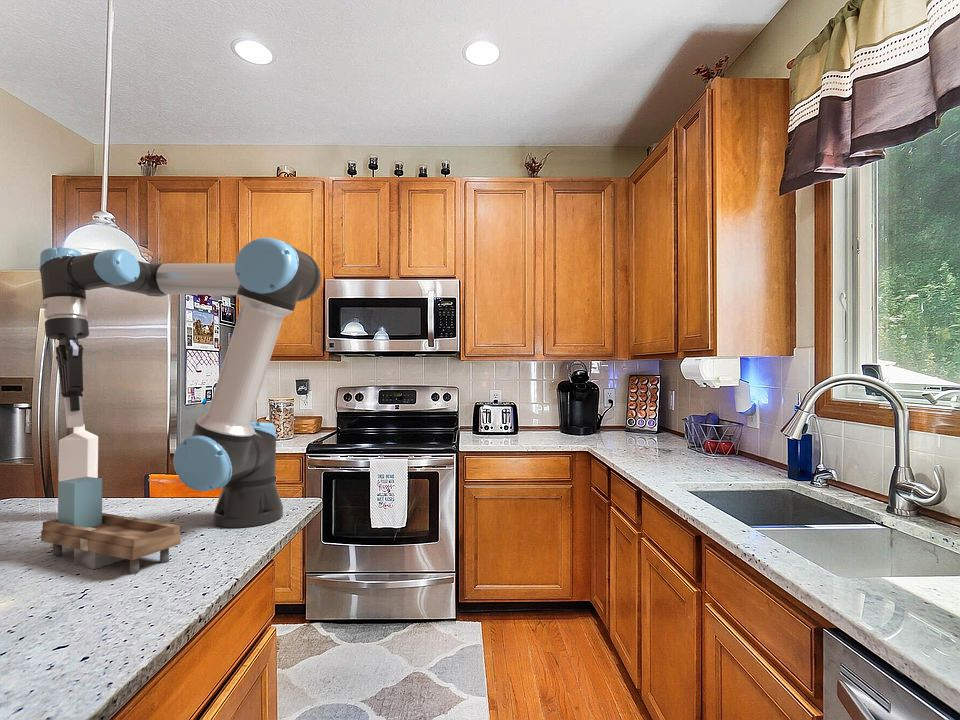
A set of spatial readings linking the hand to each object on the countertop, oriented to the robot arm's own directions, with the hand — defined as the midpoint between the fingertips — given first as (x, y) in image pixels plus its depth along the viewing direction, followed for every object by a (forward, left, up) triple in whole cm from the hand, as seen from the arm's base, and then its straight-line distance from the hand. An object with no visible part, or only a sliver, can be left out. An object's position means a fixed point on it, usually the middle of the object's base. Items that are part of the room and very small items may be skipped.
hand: (75, 426), depth 113 cm
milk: (+8, -16, -23) cm, 30 cm away
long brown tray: (-16, +16, -23) cm, 32 cm away
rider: (-8, +11, -18) cm, 23 cm away
